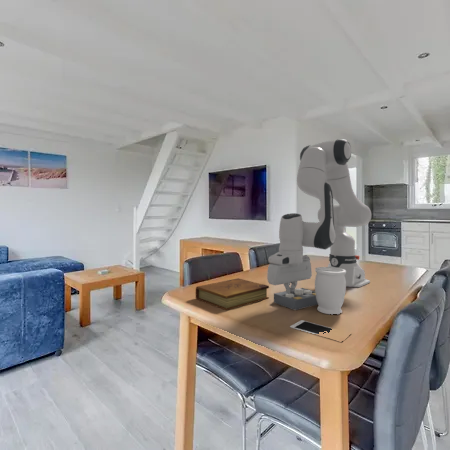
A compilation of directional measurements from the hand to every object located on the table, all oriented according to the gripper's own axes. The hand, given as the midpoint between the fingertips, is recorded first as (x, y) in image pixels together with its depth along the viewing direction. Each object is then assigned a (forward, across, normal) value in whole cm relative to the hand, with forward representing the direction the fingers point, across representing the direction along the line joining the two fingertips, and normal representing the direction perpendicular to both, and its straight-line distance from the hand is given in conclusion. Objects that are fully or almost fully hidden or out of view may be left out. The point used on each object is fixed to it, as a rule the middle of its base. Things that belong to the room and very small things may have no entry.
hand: (290, 293), depth 115 cm
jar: (+5, -6, +13) cm, 15 cm away
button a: (+4, 0, 0) cm, 4 cm away
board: (+4, -5, 0) cm, 6 cm away
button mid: (+2, -5, 0) cm, 5 cm away
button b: (+4, -10, 0) cm, 10 cm away
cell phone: (+5, +11, +22) cm, 25 cm away
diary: (+5, +14, -18) cm, 24 cm away
